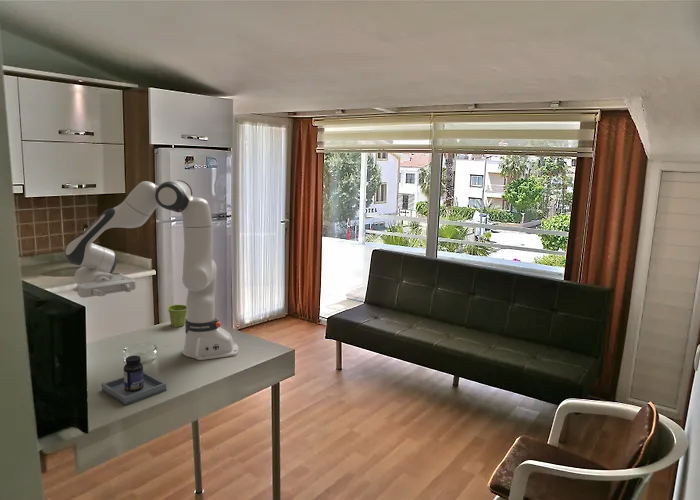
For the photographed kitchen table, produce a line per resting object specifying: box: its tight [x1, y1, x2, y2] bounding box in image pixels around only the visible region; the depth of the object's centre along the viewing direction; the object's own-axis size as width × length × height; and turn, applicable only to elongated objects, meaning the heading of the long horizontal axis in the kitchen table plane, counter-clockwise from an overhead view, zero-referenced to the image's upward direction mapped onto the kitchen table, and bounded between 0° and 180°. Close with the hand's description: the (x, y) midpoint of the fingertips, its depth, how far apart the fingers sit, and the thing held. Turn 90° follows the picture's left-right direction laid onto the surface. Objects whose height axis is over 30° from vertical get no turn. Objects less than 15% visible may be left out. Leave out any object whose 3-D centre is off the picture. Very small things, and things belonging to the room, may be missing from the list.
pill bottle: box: [123, 355, 144, 392], centre depth 174 cm, size 6×6×11 cm
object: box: [167, 304, 186, 328], centre depth 241 cm, size 9×9×9 cm
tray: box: [101, 370, 167, 406], centre depth 175 cm, size 15×15×2 cm
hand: (116, 291), depth 186 cm, fingers open, 8 cm apart
